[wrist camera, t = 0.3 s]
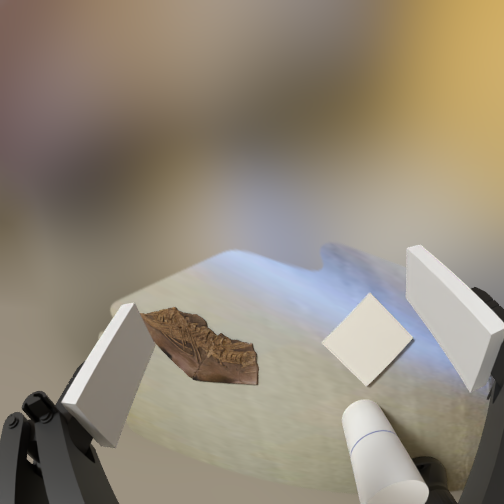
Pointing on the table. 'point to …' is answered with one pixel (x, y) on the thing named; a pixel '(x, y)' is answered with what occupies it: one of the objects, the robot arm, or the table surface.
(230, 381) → the brown relief tablet
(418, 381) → the table surface
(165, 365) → the table surface
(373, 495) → the cylindrical container
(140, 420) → the table surface
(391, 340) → the ceramic tile
